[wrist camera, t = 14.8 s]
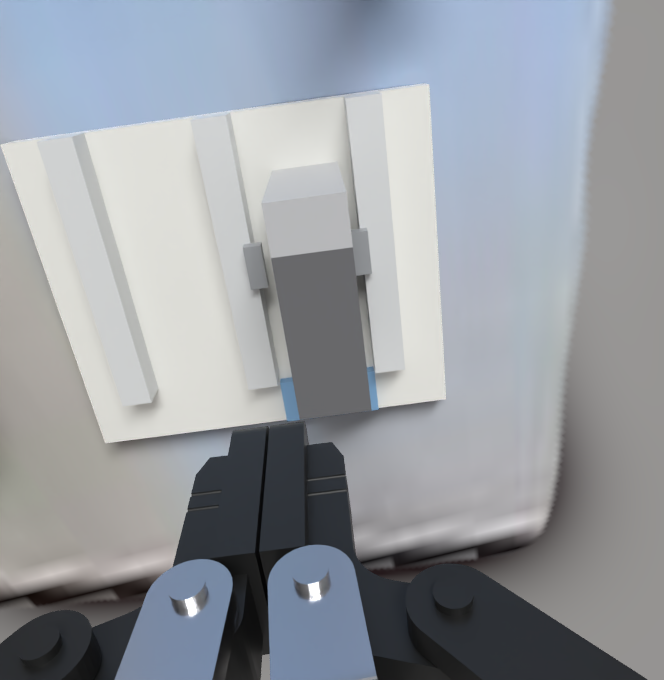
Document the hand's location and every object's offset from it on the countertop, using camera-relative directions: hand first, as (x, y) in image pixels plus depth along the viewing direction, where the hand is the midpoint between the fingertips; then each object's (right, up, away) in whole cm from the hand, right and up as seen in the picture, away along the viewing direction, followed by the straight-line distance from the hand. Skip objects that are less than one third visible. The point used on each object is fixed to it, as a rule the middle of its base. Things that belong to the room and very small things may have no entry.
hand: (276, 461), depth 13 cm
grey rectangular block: (+1, +6, +16) cm, 18 cm away
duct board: (-3, +6, +18) cm, 19 cm away
